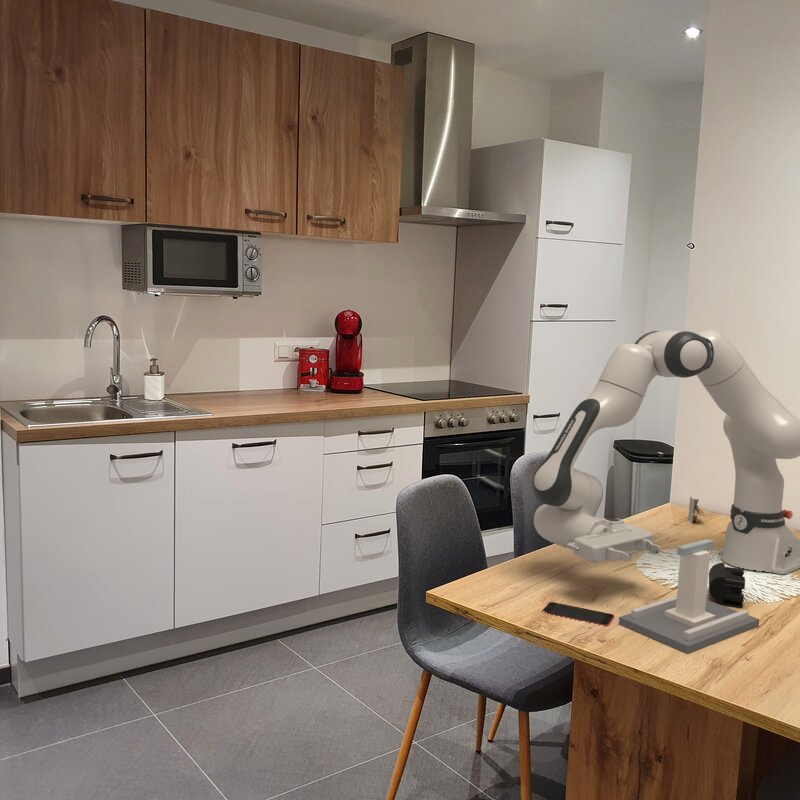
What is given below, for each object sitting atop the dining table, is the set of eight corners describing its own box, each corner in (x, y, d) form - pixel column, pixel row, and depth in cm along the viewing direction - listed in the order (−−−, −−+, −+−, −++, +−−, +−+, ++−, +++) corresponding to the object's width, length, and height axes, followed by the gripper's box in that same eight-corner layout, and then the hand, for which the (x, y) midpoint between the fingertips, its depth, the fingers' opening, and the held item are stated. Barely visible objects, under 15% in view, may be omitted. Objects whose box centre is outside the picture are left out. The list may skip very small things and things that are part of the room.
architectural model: (699, 521, 247) (702, 496, 246) (704, 527, 241) (706, 502, 240) (687, 520, 248) (690, 495, 247) (692, 526, 241) (694, 501, 240)
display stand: (659, 617, 168) (665, 542, 166) (689, 607, 174) (695, 535, 172) (689, 629, 162) (696, 552, 160) (719, 618, 168) (726, 544, 166)
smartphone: (549, 601, 178) (615, 614, 172) (549, 603, 178) (615, 617, 172) (540, 611, 172) (608, 626, 166) (540, 614, 172) (608, 628, 166)
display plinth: (690, 600, 182) (691, 587, 181) (758, 626, 169) (760, 612, 169) (618, 624, 168) (619, 609, 167) (687, 653, 155) (688, 638, 154)
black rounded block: (707, 589, 189) (709, 560, 189) (740, 594, 187) (743, 565, 186) (707, 604, 180) (710, 574, 179) (742, 609, 178) (745, 579, 177)
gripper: (562, 530, 181) (612, 547, 170) (623, 517, 193) (674, 532, 182) (560, 558, 182) (610, 577, 171) (621, 543, 194) (671, 560, 183)
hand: (643, 554), depth 176 cm, fingers open, 8 cm apart
